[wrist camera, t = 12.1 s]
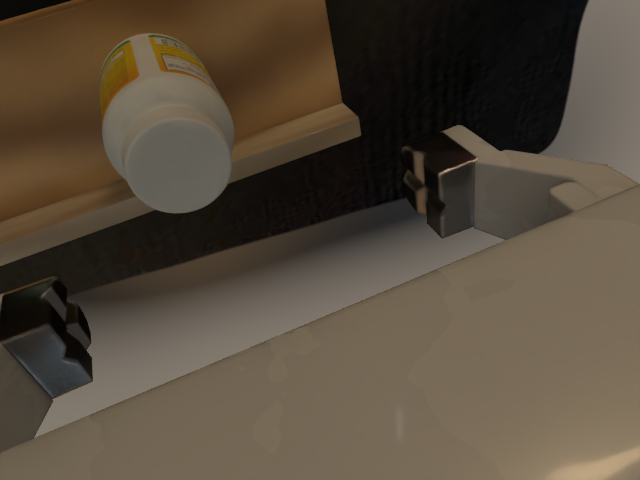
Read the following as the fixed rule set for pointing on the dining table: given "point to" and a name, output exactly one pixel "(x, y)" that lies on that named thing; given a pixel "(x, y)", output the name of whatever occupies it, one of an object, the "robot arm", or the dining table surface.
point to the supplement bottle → (165, 123)
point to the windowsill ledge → (85, 109)
